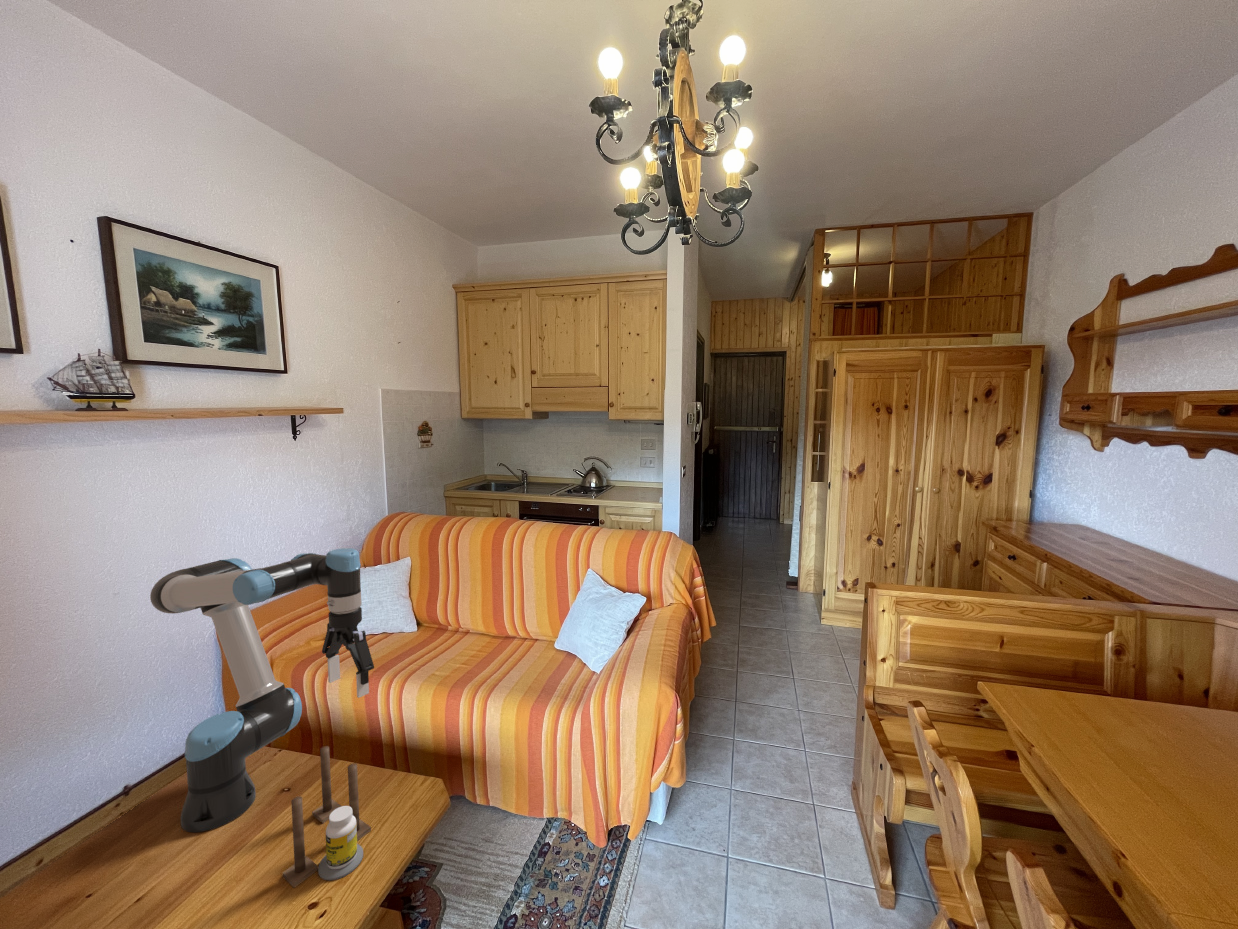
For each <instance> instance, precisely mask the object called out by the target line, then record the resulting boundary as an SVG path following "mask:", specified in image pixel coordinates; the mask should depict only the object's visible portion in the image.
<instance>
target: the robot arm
mask: <svg viewBox="0 0 1238 929" xmlns="http://www.w3.org/2000/svg"><path fill="white" fill-rule="evenodd" d="M359 553H360V552H359V551H358V550H357V549H355V548H353V547H348V548H337V549H332V550H330V551H328V552H327V553H326V555H324V554H317V553H313V552H311V553H310V552H309V553H299V554H296V555H295V556H294V557H293V558H292V559H290V560H289V561H285V562H282V563H278V564H274V565H269V566H265V567H259V568H252V566H251V565H250V564H249V563H247V562H246V561H245V560H243V559H241V558H237V557H236V558H235V557H233V558H232V557H231V558H227V559H219V560H215V561H212V562H207V563H204V564H199V565H196V566H191V567H187V568H182V569H179V570H175V571H173V572H170V573H167V574H166V575H164V576H162V577H161V578H160V579H159V580H158V581H157V582H156V583H155V584H154V585H153V587H152V589H151V590H150V595H149V596H150V597H149V598H150V602H151V605H152V606H153V607H154V608H155V609H156V610H157V611H159V612H162V613H164V614H181V613H185V612H190V611H193V610H197V609H200V610H201V614H202V615H203V616H207V617H209V618H211V620H212V624H213V626H214V628H215V631H216V634H217V636H218V640H219V642H220V645H221V648H222V651H223V653H224V654H223V655H224V656H225V659H226V662H227V665H228V668H229V670H230V674H231V676H232V678H233V681H234V685H235V687H236V690H237V693H238V696H239V698H238V701H237V702H236V704H235V708H236V711H235V710H230V711H229V710H228V711H223V712H222V713H221V714H219V713H218V714H217V713H216V714H214V715H212V716H211V717H208V718H206V719H204V720H203V721H201V722H199V723H198V724H197V725H196V726H194V727H193V728H192V729H191V730H190V732H189V733H188V735H187V737H186V739H185V745H184V746H185V749H184V758H185V764H186V765H185V768H186V778H187V780H186V781H187V794H186V797H185V801H184V803H183V806H182V809H181V813H180V825H181V829H182V830H184V831H186V832H189V833H202V832H208V831H210V830H214V829H217V828H219V827H222V826H224V825H226V824H228V823H231V822H232V821H234V820H235V819H237V818H239V817H241V816H242V815H243V814H244V813H246V812H247V810H249V809H250V807H251V806H252V805H253V803H254V802H255V800H256V794H257V793H256V785H255V784H254V782H253V780H252V778H251V777H250V775H249V773H248V771H247V767H246V765H247V764H246V758H248V757H249V756H251V755H252V754H254V753H255V752H257V751H259V750H260V749H263V748H264V747H266V746H267V745H268V744H270V743H272V742H273V741H275V740H277V739H278V738H281V737H284V736H285V735H286V734H287V733H288V732H290V731H291V730H292V729H294V728H295V727H296V726H297V725H298V724H299V722H300V719H301V716H302V713H303V705H302V704H303V703H302V699H301V696H300V695H299V693H298V692H296V690H295V689H294V688H291V687H286V686H285V683H284V682H281V681H278V680H277V679H276V678H275V675H274V672H273V669H272V667H271V665H270V662H269V658H268V655H267V654H266V650H265V648H264V645H263V642H262V640H261V636H260V633H259V631H258V628H257V625H256V623H255V620H254V617H253V614H252V612H251V610H250V606H249V605H254V604H259V603H263V602H265V601H267V600H269V599H273V598H275V597H278V596H281V595H284V594H287V593H291V592H294V591H297V590H300V589H303V588H305V587H309V586H312V585H321V586H327V602H326V604H327V607H328V608H327V609H328V610H329V612H328V623H327V625H326V627H327V628H326V634H325V637H324V641H323V645H322V648H321V654H323V655H325V658H327V678H328V679H327V680H328V683H330V684H331V683H334V682H335V681H338V680H340V679H341V669H340V668H341V665H340V655H339V654H340V649H341V648H342V645H343V646H345V650H347V651H349V653H350V655H351V657H352V658H351V659H352V660H353V663H354V665H355V667H356V670H357V671H356V672H355V677H356V678H355V679H356V680H355V681H356V698H358V699H359V698H361V697H365V696H366V695H368V694H370V684H369V682H370V680H369V679H370V678H369V677H370V676H369V672H370V671H371V670H373V669H375V664H374V661H373V658H372V655H371V652H370V648H369V645H368V641H367V634H366V631H365V630H361V631H359V629H358V626H359V624H360V623H361V622H362V621H363V614H362V613H363V612H362V610H363V609H362V607H361V606H362V588H361V560H360V554H359Z"/></svg>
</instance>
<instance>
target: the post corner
mask: <svg viewBox="0 0 1238 929" xmlns="http://www.w3.org/2000/svg"><path fill="white" fill-rule="evenodd" d="M347 780H348V802H349V803H348V804H349V805H348V806H350V807H351V808H352V811H353V816H354V817H355V818H356V822H357V842H358V841H359V840H361V839H362V838H364V837H365V836H366V835H368V834H369V833H370V832H371V831H372V827H371V826H370V825H369V824H367V823H366V822H365V821H363V820H362V819H361V818H360V808H359V807H360V805H359V804H360V802H359V781H358V780H359V779H358V763H350V764H349V765H348V766H347Z"/></svg>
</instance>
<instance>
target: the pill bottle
mask: <svg viewBox="0 0 1238 929" xmlns="http://www.w3.org/2000/svg"><path fill="white" fill-rule="evenodd" d="M341 806H342V807H339V808H337V809H335V810H334V811H333V812H332V813H331V814H330V816H329V820H328V824H327V826H326V828H325V853H326V854H325V855H326V862H327V866H328V867H329V868H331V869H340V868H343V867H345V866H347V865H348V864H350V863H351V862H352V861H353V860H354V858H355V857H356V855H357V844H358V841H357V822H356V818H355V817H354V816H353V811H352V808H351V807H350V806H349V805H341Z"/></svg>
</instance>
